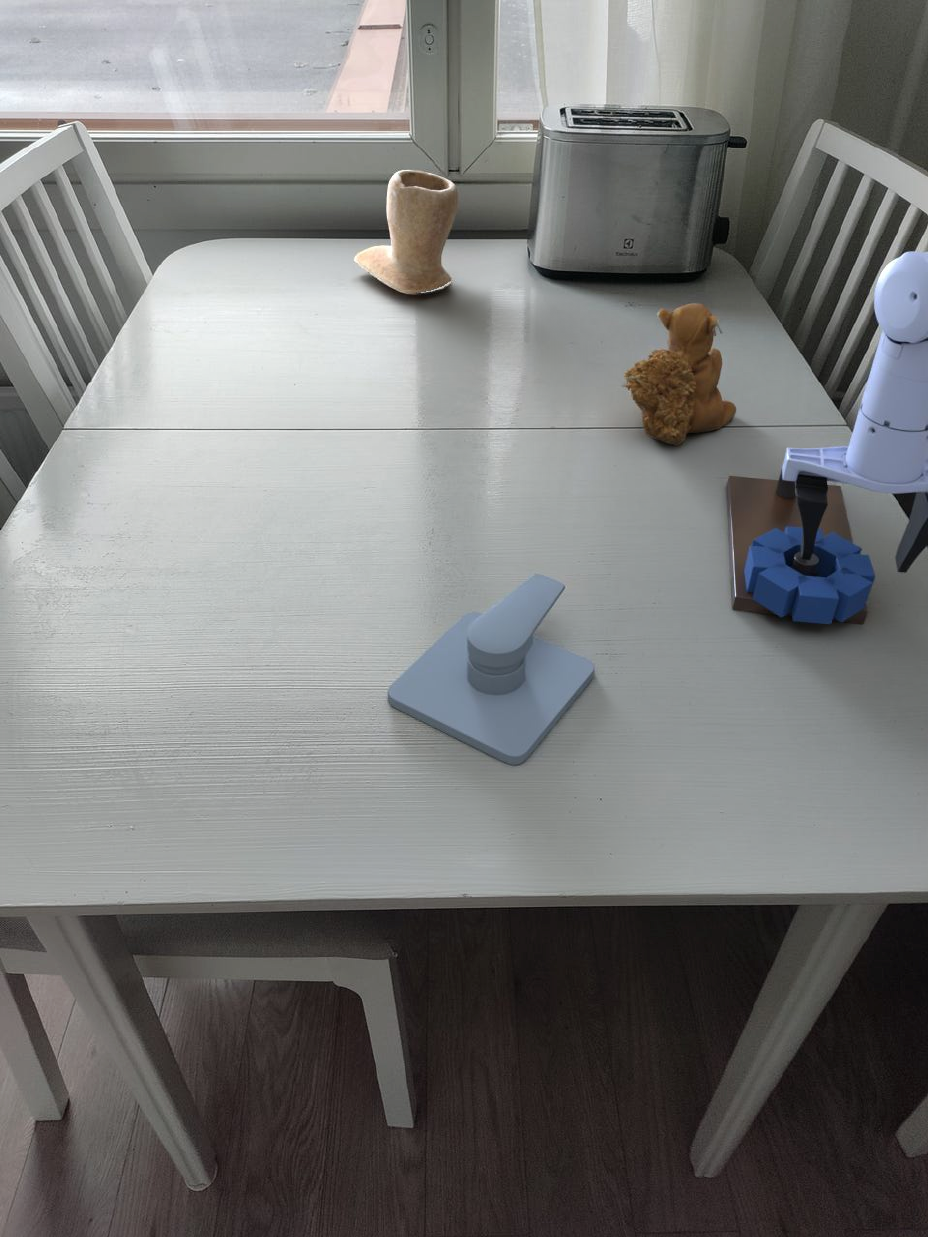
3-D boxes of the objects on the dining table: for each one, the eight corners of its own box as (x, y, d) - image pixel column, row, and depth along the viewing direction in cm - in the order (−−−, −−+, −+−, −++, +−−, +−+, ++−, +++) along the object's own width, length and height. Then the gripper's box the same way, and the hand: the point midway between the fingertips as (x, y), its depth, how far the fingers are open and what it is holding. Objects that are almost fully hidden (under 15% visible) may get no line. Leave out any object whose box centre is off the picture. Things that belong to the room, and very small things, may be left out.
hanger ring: (853, 557, 87) (861, 531, 85) (874, 628, 79) (883, 602, 77) (740, 548, 88) (746, 522, 86) (750, 618, 80) (756, 591, 78)
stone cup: (473, 289, 139) (474, 180, 129) (401, 306, 134) (396, 194, 124) (421, 257, 149) (419, 153, 139) (353, 272, 144) (345, 165, 134)
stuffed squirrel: (739, 413, 110) (762, 301, 102) (688, 466, 101) (708, 348, 93) (660, 390, 115) (675, 281, 106) (604, 439, 106) (616, 325, 97)
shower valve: (620, 602, 75) (521, 716, 66) (613, 653, 79) (518, 769, 69) (487, 550, 81) (378, 649, 71) (486, 601, 84) (382, 702, 75)
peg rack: (837, 498, 97) (848, 459, 94) (863, 624, 82) (878, 583, 79) (726, 487, 98) (734, 449, 95) (732, 609, 83) (741, 568, 80)
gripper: (994, 399, 73) (937, 543, 82) (798, 379, 76) (763, 521, 85) (1012, 444, 68) (949, 593, 77) (801, 421, 71) (764, 568, 79)
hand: (852, 559), depth 80 cm, fingers open, 7 cm apart
